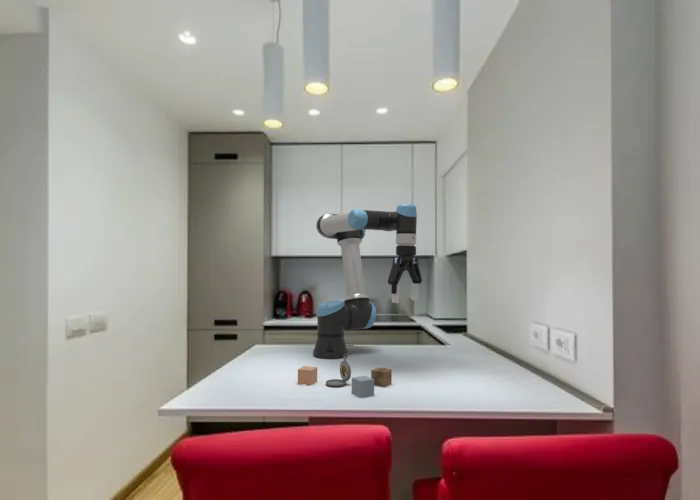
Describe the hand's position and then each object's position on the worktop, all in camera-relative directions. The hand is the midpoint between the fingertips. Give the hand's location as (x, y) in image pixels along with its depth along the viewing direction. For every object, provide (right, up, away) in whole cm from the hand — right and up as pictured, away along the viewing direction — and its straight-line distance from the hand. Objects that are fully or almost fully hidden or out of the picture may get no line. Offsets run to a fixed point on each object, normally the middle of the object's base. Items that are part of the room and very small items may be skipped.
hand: (405, 301), depth 170 cm
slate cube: (-17, -25, -31) cm, 43 cm away
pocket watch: (-25, -26, -20) cm, 41 cm away
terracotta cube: (-35, -25, -19) cm, 47 cm away
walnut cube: (-10, -26, -20) cm, 34 cm away
